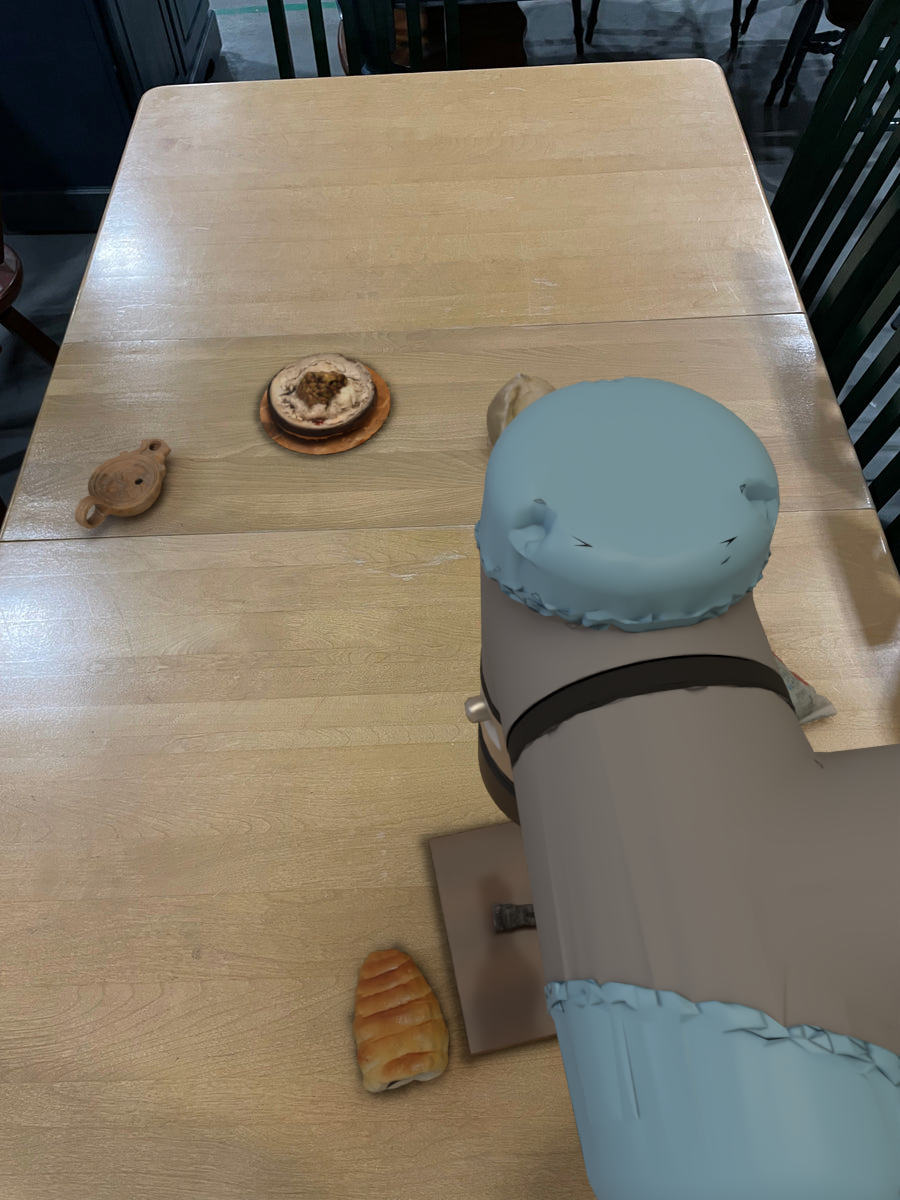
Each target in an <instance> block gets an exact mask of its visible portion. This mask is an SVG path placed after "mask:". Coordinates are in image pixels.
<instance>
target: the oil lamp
mask: <svg viewBox="0 0 900 1200" xmlns="http://www.w3.org/2000/svg"><path fill="white" fill-rule="evenodd" d="M171 452H172V448H171V447H170V446H169V445H168V444H167V443H166V442H165V440H163V439H161V438H147V439H141V445H140V447H138V448H137V449H135V450H131V451H127V450H123V451H121V452H120V453H119V455H117V456H115V457H112V458H109V459H108V460H106V461H104V462H102V463H101V464H100V465H98V466H97V467H96V468H95V469H94V470H93V472H92V473H91V474H90V477H89V479H88V480H87V492H88V495H86V496H85V497H83V498H81V500H79V502H78V503H77V505H76V507H75V511H74V520H75V522H76V523H77V524H78V525H80V527H83V528H85V529H87V530H92V529H96V528H97V527H99V526H100V525H101V524H102V523H103V522H104V521H105V520H106V518H107V516H110V515H111V516H114V517H123V518H124V517H133V516H136V515H139V514H142V513H144V512H145V511H147V510H148V509H150V507H152V506H153V504H154V503H155V502H156V500H157V499H158V497H159V496H160V493H161V490H162V486H163V480H164V478H165V476H166V473H167V468H166V466H165V464H166V460H167V458H168V456H169V455H170V453H171ZM93 506H94V509H93V513H92V514H91V515H90V516H89V517H88V513H89V511H90V509H91V508H92V507H93Z"/></svg>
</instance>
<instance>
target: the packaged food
mask: <svg viewBox="0 0 900 1200" xmlns="http://www.w3.org/2000/svg"><path fill="white" fill-rule="evenodd" d="M772 652H773V655H774V657H775V660H776V663H777V665H778V668H779V670H780V673H781V676H782V678H783V680H784V682H785V685H786V687H787V689H788V691H789V694H790V697H791V700H792V703H793V705H794V706H795V710H796V716H797V718H798V721H799V723H800V725H801V727H802V726H805V725H808V724H811V723H813V722H816V721H819V720H821V719H824V718H826V719H829V718H830V717H836V716H837V715H838V710H837V708H836V707H835V705H834V704H833V703H832V701H831V700H830V699H828V697H827V696H825V695H822V694H819V693H817V690H816V689H815V688H814V686H813V685H811V684H810V683H809V682H807V681H805V679H803V678H802V677H801V676H800V675H799V674H797V673H796V672H794V671H793V670H790V669H789V668H787V666H786V664H785V663H784V662H783V660H782V659H781V658H780V657H779V656H778V655H777V654H776V653H775V651H774V650H772Z"/></svg>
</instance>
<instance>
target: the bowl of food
mask: <svg viewBox="0 0 900 1200" xmlns="http://www.w3.org/2000/svg"><path fill="white" fill-rule="evenodd" d="M344 354H345V353H344V352H341V353H339V352H326V353H325V352H323V353H315V354H311V355H307V356H305V357H302V358H300V359H298V360H295V361H293V362H291V363H290V364H288V365H285V366H284V367H283V368H282V369H280V370H279V372H277V373H276V374H275V375H273V377H272V379H271V380H270V382H269V384H268V386H267V389H266V390H265V392H264V394H263V397H262V399H261V402H260V408H259V416H260V421H261V424H262V427H263V429H264V431H265V433H266V434H267V435H268V436H269V437H270V438H271V439H272V440H273V441H274V442H275V443H277V444H278V445H280V446H282V447H284V448H286V449H288V450H290V451H293V452H297V453H302V454H307V455H316V456H317V455H327V454H337V453H340V452H346V451H348V450H350V449H353V448H355V447H357V446H360V445H361V444H364V443H365V442H366V441H367V440H369V439H370V438H371V437H372V436H373V435H374V434H375V433H376V432H377V431H378V430H379V429H380V428H381V427H382V426H383V424H384V422H385V421H386V420H387V418H388V415H389V413H390V409H391V393H390V390H389V387H388V385H387V384H386V382H385V380H384V379H383V377H381V375H380V374H378V373H377V371H375V370H373V369H372V368H370V367H368V366H367V365H365V364H363V363H361V362H360V361H359V360H358V359H353V358H350V357H349V356H347V357H345V355H344Z"/></svg>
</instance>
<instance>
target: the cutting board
mask: <svg viewBox="0 0 900 1200" xmlns="http://www.w3.org/2000/svg"><path fill="white" fill-rule="evenodd" d="M427 841H428V846H429V851H430V856H431V857H430V858H431V861H432V866H433V871H434V876H435V882H436V887H437V891H438V898H439V903H440V908H441V914H442V918H443V922H444V923H443V924H444V927H445V928H444V929H445V932H446V933H445V934H446V938H447V944H448V948H449V954H450V958H451V964H452V970H453V974H454V979H455V984H456V990H457V995H458V1000H459V1005H460V1009H461V1015H462V1020H463V1025H464V1031H465V1035H466V1041H467V1045H468V1051H469V1056H470V1057H472V1056H473V1057H474V1056H477V1055H481V1054H486V1053H489V1052H494V1051H498V1050H502V1049H506V1048H511V1047H514V1046H519V1045H524V1044H528V1043H532V1042H537V1041H540V1040H544V1039H549V1038H552V1037H557V1032H556V1028H555V1023H554V1020H553V1018H552V1017H551V1016H550V1014H548V1011H547V1002H546V996H545V993H544V987H545V986H546V983H545V977H544V970H543V964H542V958H541V951H540V945H539V939H538V932H537V926H536V925H531V926H527V925H524V926H518V927H517V928H515V929H507V930H503V932H495V931H494V921H493V910H492V905H493V903H501V904H510V903H512V904H515V905H525V904H533V901H532V894H531V888H530V882H529V875H528V869H527V863H526V856H525V850H524V844H523V837H522V831H521V827H520V826H519V825H517V824H516V823H514V822H513V821H512V820H510V821H507V822H503V823H498V824H493V825H488V826H483V827H479V828H475V829H474V828H473V829H470V830H465V831H461V832H457V833H456V832H455V833H451V834H447V835H443V836H438V837H433V838H428V840H427Z"/></svg>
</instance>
